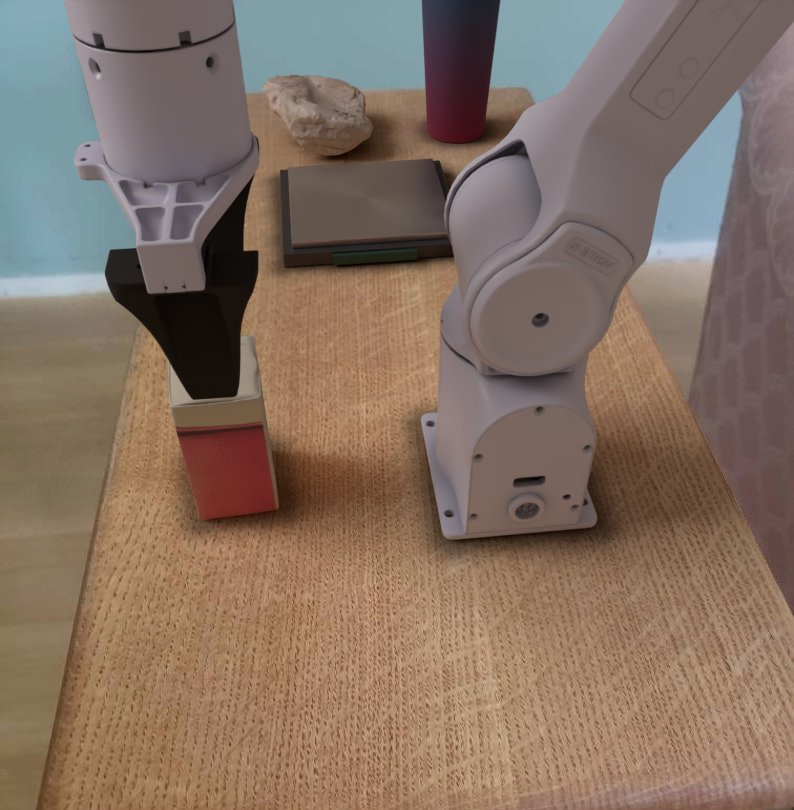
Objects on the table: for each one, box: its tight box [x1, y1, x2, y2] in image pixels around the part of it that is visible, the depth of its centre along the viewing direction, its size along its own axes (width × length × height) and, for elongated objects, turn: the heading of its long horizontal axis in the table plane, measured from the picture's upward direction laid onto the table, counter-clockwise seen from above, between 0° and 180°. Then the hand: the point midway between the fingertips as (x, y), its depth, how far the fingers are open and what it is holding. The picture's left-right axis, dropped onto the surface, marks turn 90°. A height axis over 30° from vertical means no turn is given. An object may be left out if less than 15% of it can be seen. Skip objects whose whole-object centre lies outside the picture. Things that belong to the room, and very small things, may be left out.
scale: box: [279, 158, 454, 268], centre depth 65 cm, size 13×13×2 cm
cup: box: [421, 0, 501, 144], centre depth 70 cm, size 7×7×15 cm
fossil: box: [262, 74, 374, 157], centre depth 73 cm, size 9×6×10 cm
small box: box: [167, 334, 280, 521], centre depth 43 cm, size 5×4×8 cm
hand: (217, 342), depth 40 cm, fingers open, 7 cm apart
